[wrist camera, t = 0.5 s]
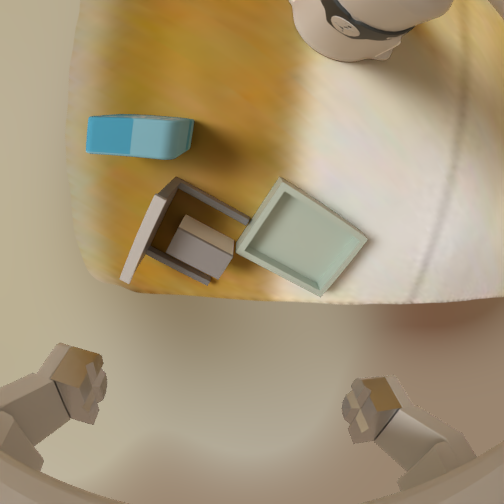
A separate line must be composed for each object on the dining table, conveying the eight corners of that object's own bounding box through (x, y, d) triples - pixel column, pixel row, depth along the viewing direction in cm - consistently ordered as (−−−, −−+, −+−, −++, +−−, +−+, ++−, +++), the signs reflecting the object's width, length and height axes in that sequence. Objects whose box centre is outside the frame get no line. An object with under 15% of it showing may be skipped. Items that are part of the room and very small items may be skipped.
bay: (174, 175, 42) (154, 194, 32) (249, 216, 45) (250, 246, 36) (141, 246, 47) (119, 279, 38) (208, 280, 50) (201, 319, 41)
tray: (279, 176, 42) (282, 181, 39) (360, 230, 47) (368, 239, 44) (236, 242, 47) (235, 252, 44) (316, 286, 52) (320, 297, 48)
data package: (196, 119, 38) (178, 121, 27) (191, 148, 40) (172, 161, 29) (122, 113, 37) (83, 117, 26) (119, 141, 39) (81, 153, 28)
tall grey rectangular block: (185, 213, 45) (177, 228, 39) (234, 239, 47) (232, 257, 42) (174, 235, 47) (165, 252, 41) (221, 260, 49) (218, 279, 44)
